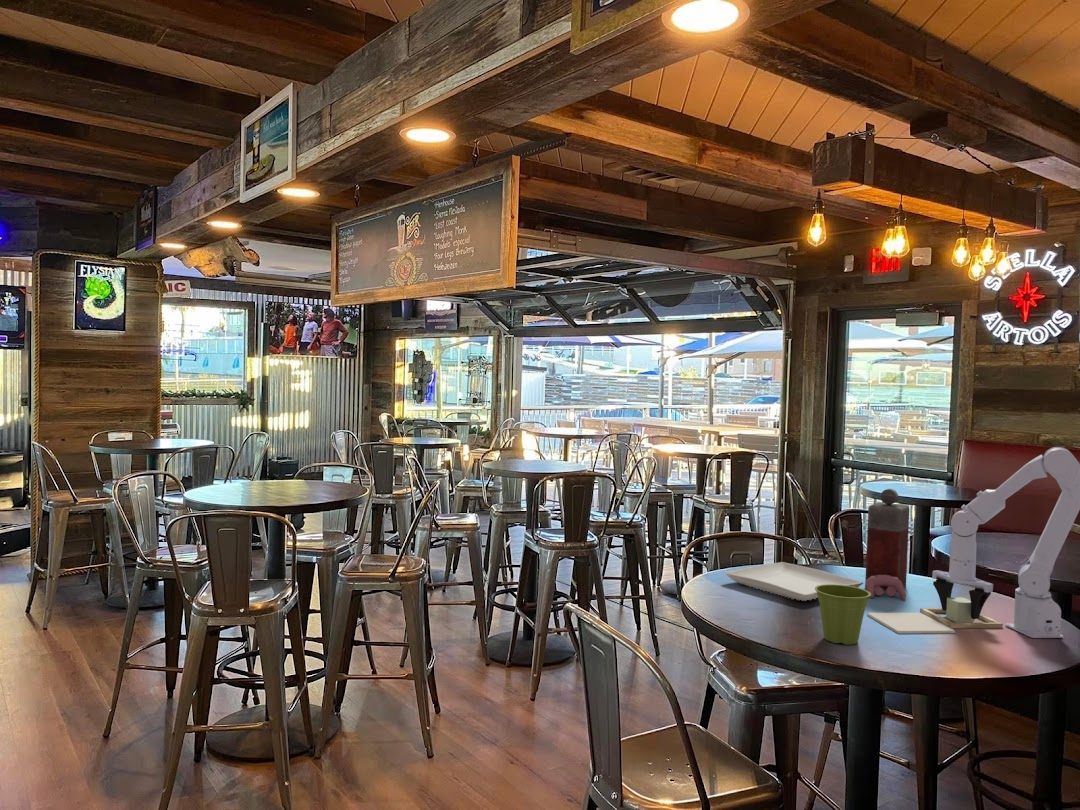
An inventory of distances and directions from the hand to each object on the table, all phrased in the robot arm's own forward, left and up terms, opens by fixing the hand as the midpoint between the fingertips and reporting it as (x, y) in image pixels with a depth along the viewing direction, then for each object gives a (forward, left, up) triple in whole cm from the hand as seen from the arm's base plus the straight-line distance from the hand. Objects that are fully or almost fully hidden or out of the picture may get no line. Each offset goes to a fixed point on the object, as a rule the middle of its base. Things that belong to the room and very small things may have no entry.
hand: (960, 614), depth 196 cm
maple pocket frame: (0, 0, -1) cm, 1 cm away
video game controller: (+20, +8, -2) cm, 22 cm away
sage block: (0, 0, -2) cm, 2 cm away
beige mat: (-3, +15, -1) cm, 15 cm away
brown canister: (+32, +1, -2) cm, 32 cm away
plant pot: (-14, +38, -2) cm, 40 cm away
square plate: (+30, +30, -2) cm, 42 cm away
